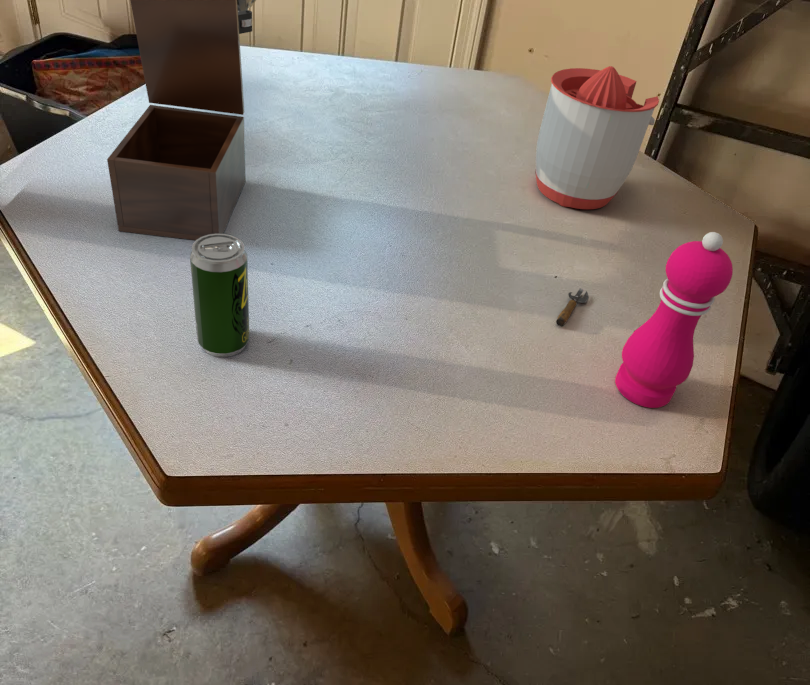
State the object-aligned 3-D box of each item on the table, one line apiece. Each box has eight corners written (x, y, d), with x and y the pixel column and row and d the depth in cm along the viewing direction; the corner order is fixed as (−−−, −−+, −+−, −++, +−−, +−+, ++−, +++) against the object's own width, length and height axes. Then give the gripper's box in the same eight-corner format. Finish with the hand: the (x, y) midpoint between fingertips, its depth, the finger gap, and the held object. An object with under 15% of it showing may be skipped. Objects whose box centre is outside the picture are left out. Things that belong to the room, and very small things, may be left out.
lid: (234, -17, 82) (235, -20, 82) (124, -32, 81) (126, -35, 81) (243, 115, 95) (244, 111, 96) (148, 102, 94) (150, 99, 95)
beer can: (199, 361, 72) (190, 264, 65) (196, 328, 76) (187, 233, 69) (252, 356, 74) (250, 261, 66) (246, 324, 78) (244, 231, 70)
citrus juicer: (649, 215, 110) (700, 88, 97) (551, 221, 104) (591, 87, 91) (599, 168, 120) (639, 48, 108) (508, 171, 115) (538, 45, 102)
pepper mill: (617, 407, 75) (689, 249, 62) (604, 362, 80) (668, 209, 68) (683, 415, 75) (768, 259, 62) (666, 370, 81) (741, 218, 68)
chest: (219, 243, 89) (215, 172, 83) (118, 231, 88) (106, 159, 82) (245, 181, 102) (244, 116, 96) (157, 171, 101) (150, 104, 95)
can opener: (562, 328, 84) (564, 321, 83) (545, 320, 85) (547, 312, 84) (592, 296, 90) (594, 289, 89) (575, 288, 91) (578, 281, 90)
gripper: (171, -38, 98) (131, -5, 85) (266, -24, 99) (241, 11, 86) (176, 19, 103) (138, 58, 90) (267, 31, 104) (243, 72, 91)
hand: (189, 35), depth 88 cm, fingers closed
